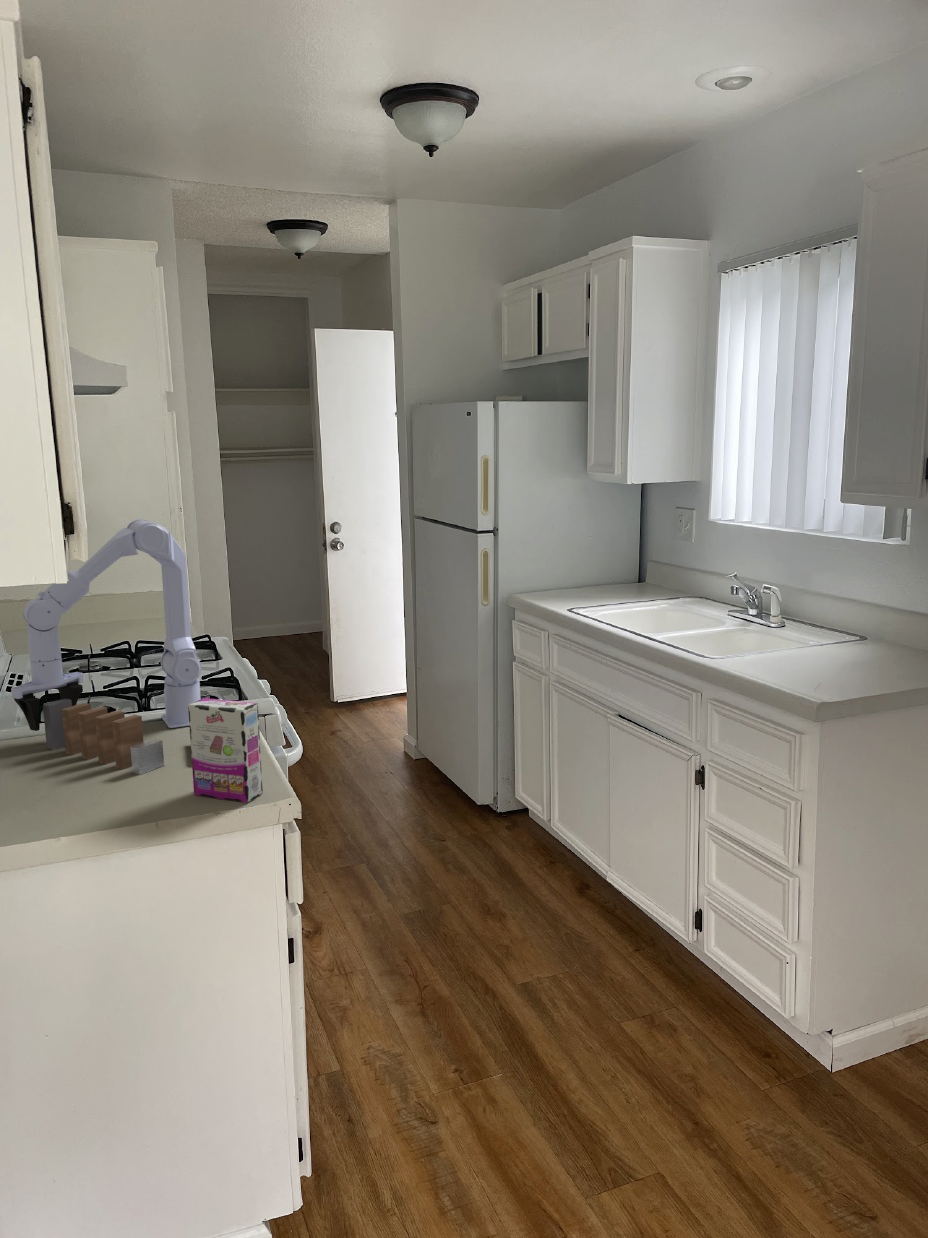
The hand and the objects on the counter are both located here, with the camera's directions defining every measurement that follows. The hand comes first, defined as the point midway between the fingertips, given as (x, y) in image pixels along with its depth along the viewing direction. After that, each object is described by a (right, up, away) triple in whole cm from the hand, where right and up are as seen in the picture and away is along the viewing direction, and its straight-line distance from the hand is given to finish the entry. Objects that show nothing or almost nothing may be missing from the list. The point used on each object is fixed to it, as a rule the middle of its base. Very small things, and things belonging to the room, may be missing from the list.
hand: (52, 724), depth 187 cm
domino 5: (+20, -6, -11) cm, 24 cm away
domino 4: (+16, -6, -9) cm, 19 cm away
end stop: (+24, -7, -14) cm, 29 cm away
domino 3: (+11, -5, -6) cm, 14 cm away
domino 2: (+7, -5, -4) cm, 9 cm away
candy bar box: (+42, -9, -26) cm, 50 cm away
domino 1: (+2, -4, 0) cm, 5 cm away
